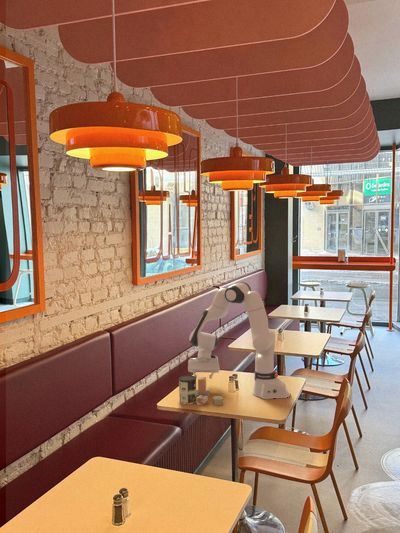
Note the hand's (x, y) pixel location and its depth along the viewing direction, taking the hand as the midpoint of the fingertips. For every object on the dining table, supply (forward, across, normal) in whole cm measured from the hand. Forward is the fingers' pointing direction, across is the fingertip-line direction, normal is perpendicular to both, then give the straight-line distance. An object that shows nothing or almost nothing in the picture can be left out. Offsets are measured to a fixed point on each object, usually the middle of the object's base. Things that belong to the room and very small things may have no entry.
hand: (203, 377), depth 310 cm
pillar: (+10, 0, -1) cm, 11 cm away
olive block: (+22, +11, -11) cm, 27 cm away
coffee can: (+20, -7, -9) cm, 23 cm away
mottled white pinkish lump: (+22, +2, -12) cm, 25 cm away
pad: (+11, 0, 0) cm, 11 cm away
